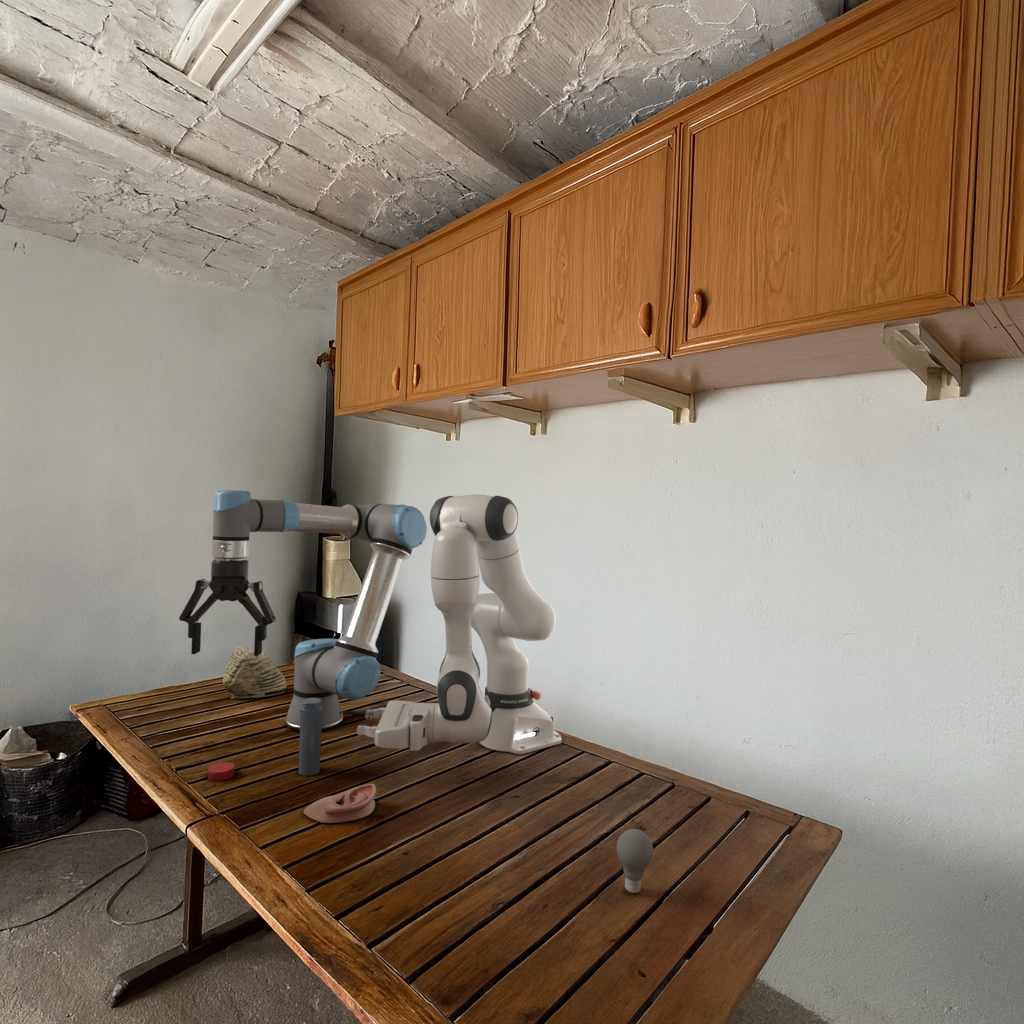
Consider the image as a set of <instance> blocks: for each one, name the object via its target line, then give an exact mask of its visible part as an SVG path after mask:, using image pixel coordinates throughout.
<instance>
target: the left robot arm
mask: <svg viewBox="0 0 1024 1024" xmlns="http://www.w3.org/2000/svg"><path fill="white" fill-rule="evenodd" d="M212 513H213V514H212V517H213V518H212V543H211V545H212V546H211V557H212V558H213V559H212V560H211V568H210V569H211V571H210V575H211V576H210V580H206V579H205V578H200V579H197V580H196V581H195V585H194V586H195V587H194V590H193V592H192V594H191V596H190V598H189V599H188V600H187V603H186V604H185V606H184V608H183V610H182V612H181V613H180V615H179V617H178V620H179V622H185V623H187V637H188V639H191V653H190V654H191V655H197V654H198V653H200V652H201V645H202V643H201V641H202V622H200V621H199V620H200V619H201V618H202V617H203V616H204V615H205V613H207V612H208V611H209V609H211V607H212V606H213V605H214V604H215V603H216V602H217V601H218V600H219V602H225V601H226V602H227V601H229V602H237V601H238V602H239V604H241V605H242V606H243V607H244V609H245V610H246V611H247V612H248V614H249V615H250V616H251V617H252V619H253V620H254V621H255V622H256V623H257V625H256V626H254V643H253V644H254V645H253V646H254V647H253V649H254V656H258V655H260V654H261V653H262V649H263V641H265V640H266V639H267V637H268V635H267V634H268V633H267V632H268V626H269V625H271V624H273V623H275V622H276V621H277V617H276V615H275V614H274V611H273V608H272V607H271V605H270V603H269V600H268V598H267V596H266V594H265V591H264V585H263V581H262V580H257V581H253V582H251V581H249V561H248V559H247V558H249V557H250V536H251V535H250V534H251V533H285V532H301V533H303V532H304V533H317V534H318V533H319V534H334V535H335V534H336V535H340V536H341V537H342V538H346V539H355V540H360V541H364V542H368V543H370V544H369V546H370V547H371V549H372V554H371V557H370V561H369V562H368V566H367V569H366V572H365V574H364V577H363V580H362V582H361V586H360V589H359V591H358V595H357V597H356V600H355V603H354V606H353V609H352V612H351V615H350V617H349V620H348V623H347V626H346V629H345V632H344V635H342V636H341V637H339V638H317V639H308V640H304V641H300V642H299V643H297V645H296V646H295V650H294V655H293V657H294V672H293V673H294V674H293V695H292V696H293V697H292V699H291V702H290V704H289V708H288V710H287V712H286V713H285V716H284V718H285V726H286V728H287V729H289V730H291V731H294V732H295V731H296V732H300V714H301V707H302V701H303V700H304V699H307V698H319V699H321V706H322V728H321V732H325V731H329V730H332V729H335V728H337V727H339V726H340V725H342V723H343V722H344V715H345V716H347V715H351V716H363V715H365V713H366V711H367V710H374V709H378V708H386V706H387V704H385V705H377V706H374V707H371V708H368V709H365V710H360V711H354V710H343V709H342V706H341V702H340V699H339V698H343V699H347V700H353V701H357V700H361V699H364V698H366V696H368V695H370V694H371V693H372V692H373V691H374V689H375V688H376V687H377V685H378V684H379V681H380V677H381V668H380V663H379V661H378V660H377V659H378V655H379V650H378V648H377V646H376V643H377V641H378V637H379V634H380V631H381V628H382V625H383V622H384V619H385V616H386V613H387V611H388V607H389V604H390V601H391V598H392V595H393V592H394V589H395V586H396V583H397V581H398V577H399V574H400V571H401V568H402V565H403V562H404V561H405V560H408V559H410V557H411V555H412V552H413V549H416V548H418V547H419V546H421V545H422V544H423V543H424V541H425V539H426V537H427V533H428V525H427V520H426V519H425V516H424V514H423V513H422V511H421V510H420V509H419V508H417V507H415V506H413V505H407V504H404V503H403V504H402V503H401V504H393V503H391V504H389V503H367V504H349V503H348V504H347V503H346V504H344V505H343V506H332V505H321V504H310V503H301V502H294V501H292V500H286V499H285V500H284V499H263V498H252V493H251V492H250V491H249V490H243V489H242V490H240V489H239V490H238V489H218V490H217V491H215V493H214V498H213V507H212ZM208 588H209V589H210V590H211V592H212V593H211V594H210V595H209V596H208V597H207V599H206V600H205V601H204V602H203V603H202V604H201V605H200V606H199V607H198V609H197V610H195V608H196V606H197V605H198V603H199V601H200V600H201V598H202V596H203V594H204V592H205V590H207V589H208ZM249 589H250V590H251V591H252V593H253V594H254V597H255V599H256V601H257V604H258V606H259V608H260V609H259V608H258V606H257V605H256V604H255V603H254V601H252V599H251V597H250V595H249V594H248V593H247V591H249ZM194 610H195V612H194ZM419 703H439V701H438V700H435V701H422V702H419Z"/></svg>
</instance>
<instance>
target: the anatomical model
mask: <svg viewBox="0 0 1024 1024" xmlns="http://www.w3.org/2000/svg"><path fill="white" fill-rule="evenodd" d="M376 793H377V785H376V784H374V783H365V784H362V785H359V786H355V787H353V788H349V789H347V790H345V791H341V792H340V793H337V794H334V795H329V796H326V797H322V798H320V799H318V800H316V801H314V802H312V803H311V804H309V805H308V806H306V807H305V808H304V809H303V810H302V811H303V814H304V815H305V816H307V817H308V818H309V819H311V820H313V821H316V822H318V823H324V824H332V823H333V824H335V823H345V822H350V821H351V822H352V821H355V820H356V821H357V820H359V819H363V818H365V817H368V816H369V815H371V814H372V813H373V812H374V810H375V808H376V802H375V800H374V799H375V796H376Z"/></svg>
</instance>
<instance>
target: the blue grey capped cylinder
mask: <svg viewBox="0 0 1024 1024" xmlns="http://www.w3.org/2000/svg"><path fill="white" fill-rule="evenodd" d="M321 728H322V706H321V699H319V698H307V699H304V700H303V701H302V707H301V714H300V731H299V740H298V741H299V742H298V743H299V744H298V770H297V773H298V774H299V775H300V776H306V777H308V776H315V775H317V774H319V773H320V772H321V753H322V752H321V749H322V731H321Z"/></svg>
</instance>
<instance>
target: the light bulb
mask: <svg viewBox="0 0 1024 1024" xmlns="http://www.w3.org/2000/svg"><path fill="white" fill-rule="evenodd" d="M615 849H616V854H617V857H618V859H619V861H620V863H621V865H622V867H623V873H624V874H623V875H624V876H625V878H624V888H625V890H627V891H628V892H630V893H634V894H635V893H639V892H640V891H641V889H642V887H641V886H642V879H643V877H644V875H645V871H646V868H647V867H648V866H649V864H650V863H651V861H652V859H653V855H654V847H653V843H652V841H651V838H649V836H648V835H647V834H646V833H645V832H643V831H642V830H641V829H636V828H629V829H627V830H625V831H623V832H622V833H621V834H620V835H619V837H618V839H617V841H616V847H615Z"/></svg>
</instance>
